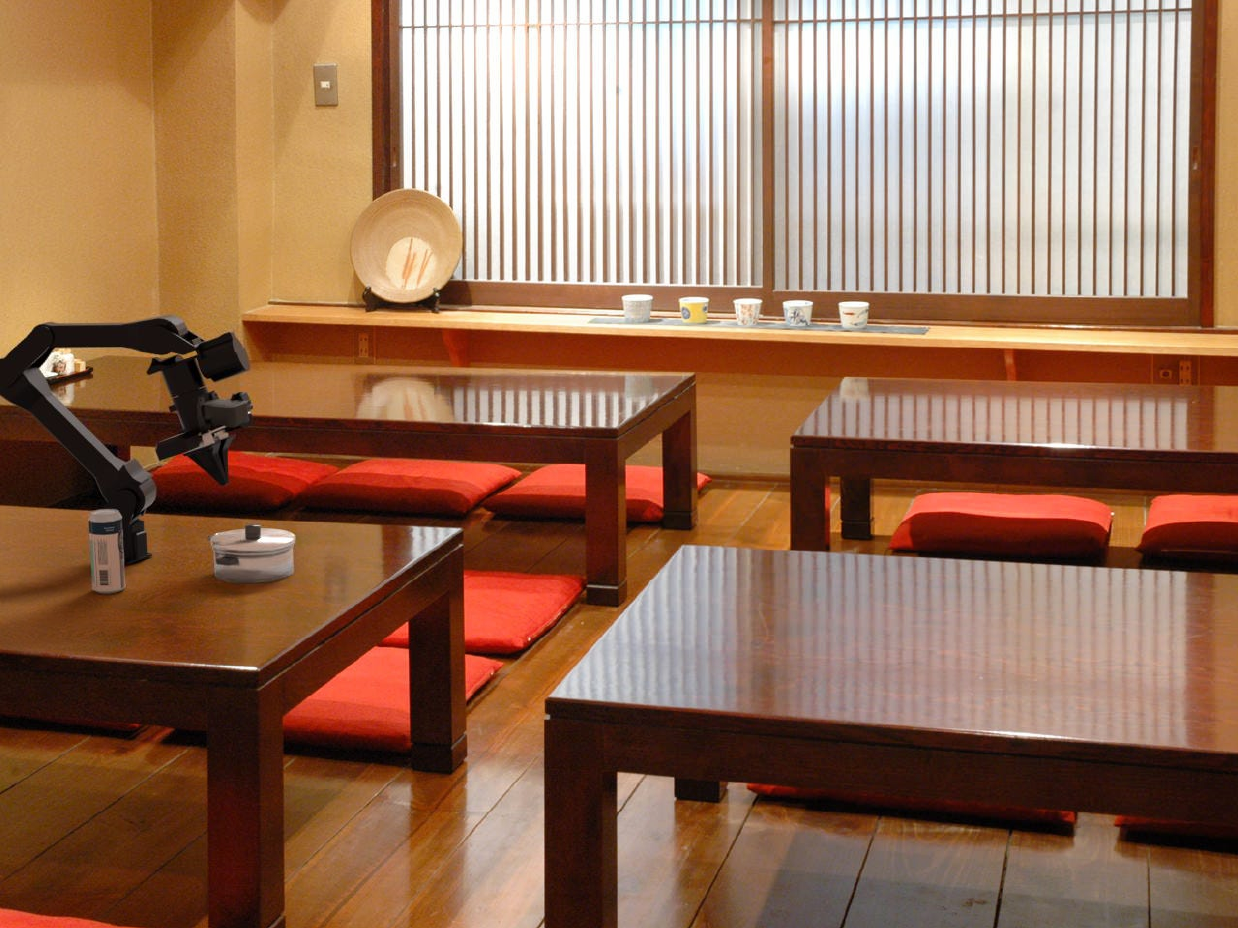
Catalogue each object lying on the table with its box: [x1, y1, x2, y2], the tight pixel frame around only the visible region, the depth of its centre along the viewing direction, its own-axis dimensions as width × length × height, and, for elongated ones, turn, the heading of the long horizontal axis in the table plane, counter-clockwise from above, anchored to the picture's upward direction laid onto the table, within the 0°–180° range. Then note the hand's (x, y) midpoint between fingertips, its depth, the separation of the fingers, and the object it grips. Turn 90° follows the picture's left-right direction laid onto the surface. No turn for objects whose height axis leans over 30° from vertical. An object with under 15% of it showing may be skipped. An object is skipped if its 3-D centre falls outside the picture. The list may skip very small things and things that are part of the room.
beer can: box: [87, 508, 126, 595], centre depth 236 cm, size 5×5×12 cm
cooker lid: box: [206, 522, 296, 553], centre depth 246 cm, size 14×13×3 cm
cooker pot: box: [211, 543, 295, 584], centre depth 247 cm, size 12×16×5 cm
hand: (225, 484), depth 252 cm, fingers closed
